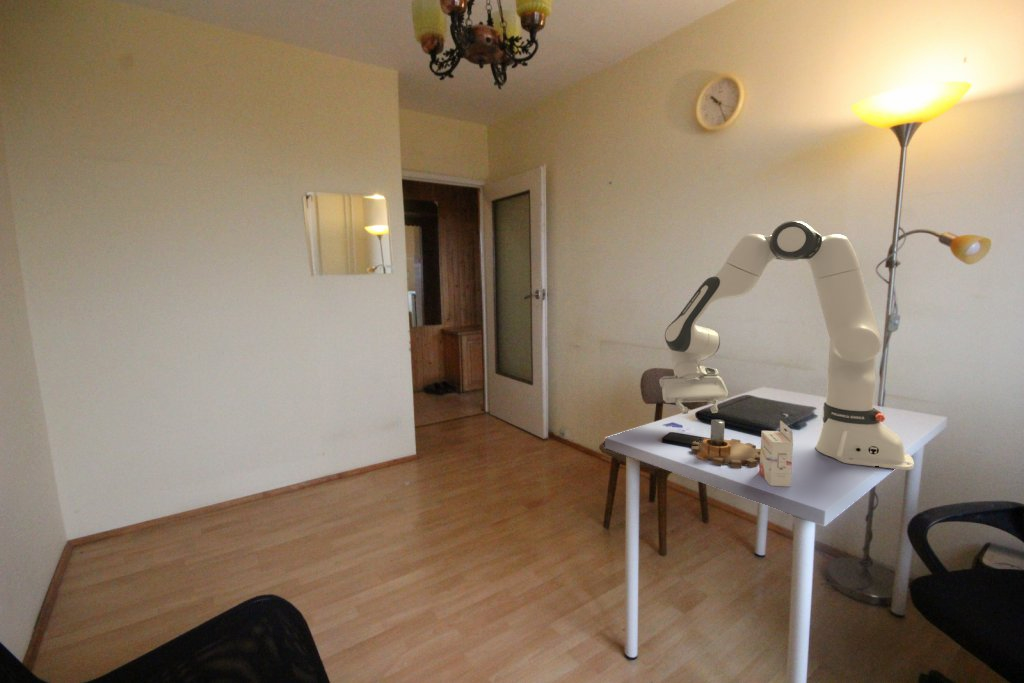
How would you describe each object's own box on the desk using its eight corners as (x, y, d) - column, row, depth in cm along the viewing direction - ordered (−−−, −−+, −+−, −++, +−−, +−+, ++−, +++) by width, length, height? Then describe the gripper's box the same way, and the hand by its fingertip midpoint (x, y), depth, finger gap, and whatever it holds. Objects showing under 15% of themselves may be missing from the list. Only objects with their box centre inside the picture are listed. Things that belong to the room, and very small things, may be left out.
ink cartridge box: (757, 471, 124) (760, 419, 122) (777, 472, 123) (781, 419, 121) (769, 486, 116) (773, 430, 114) (791, 487, 115) (795, 430, 113)
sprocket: (767, 449, 139) (768, 436, 139) (761, 473, 123) (761, 459, 122) (698, 437, 150) (699, 425, 149) (684, 458, 134) (684, 445, 133)
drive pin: (721, 448, 136) (722, 419, 135) (725, 453, 133) (726, 423, 132) (708, 448, 137) (709, 419, 136) (712, 453, 133) (713, 423, 132)
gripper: (660, 371, 152) (670, 409, 143) (722, 369, 152) (735, 406, 143) (655, 381, 157) (665, 418, 149) (716, 379, 157) (728, 416, 149)
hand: (700, 412), depth 146 cm, fingers open, 8 cm apart
